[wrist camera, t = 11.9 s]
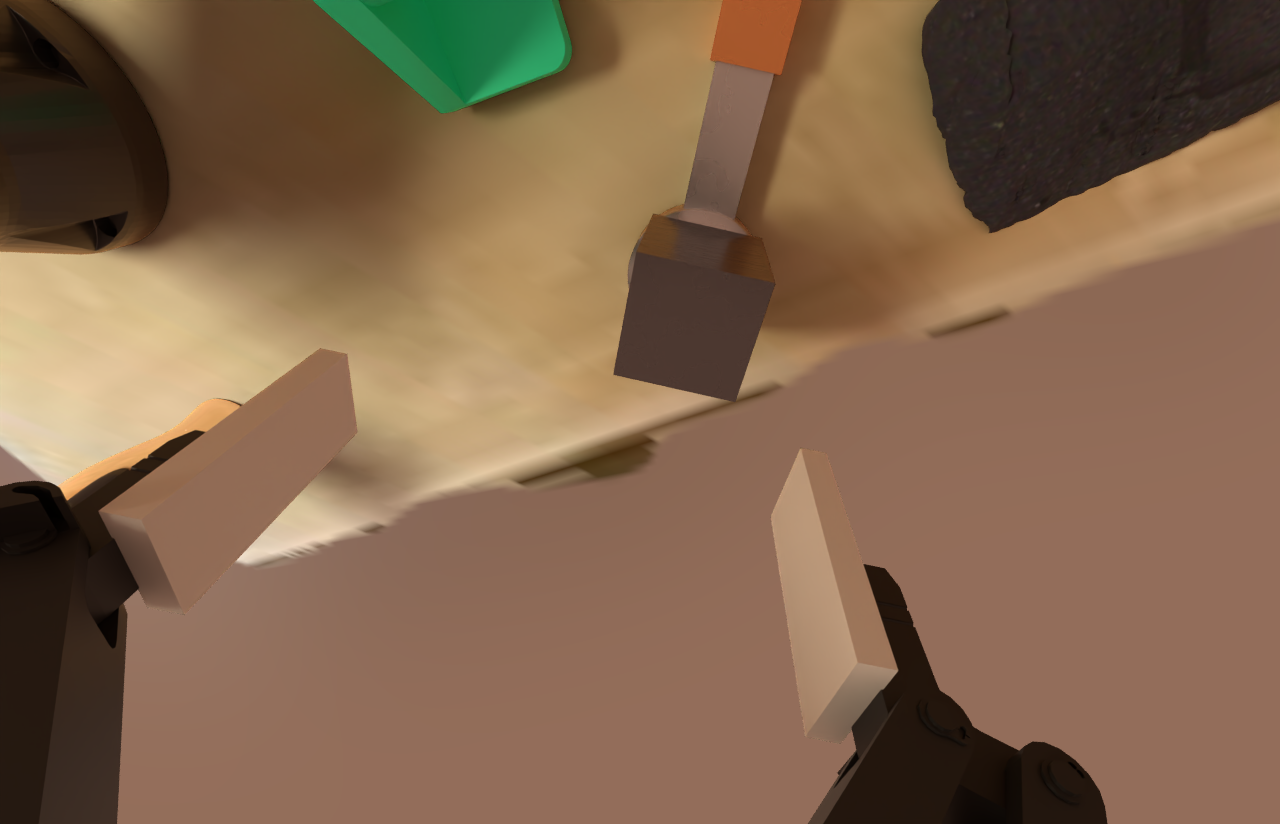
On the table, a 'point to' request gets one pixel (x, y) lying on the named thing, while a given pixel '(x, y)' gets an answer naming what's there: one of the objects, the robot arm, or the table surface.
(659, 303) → the brushed brown cube
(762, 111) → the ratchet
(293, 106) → the table surface
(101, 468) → the beer glass
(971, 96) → the dark slate chunk
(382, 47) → the camera mount
